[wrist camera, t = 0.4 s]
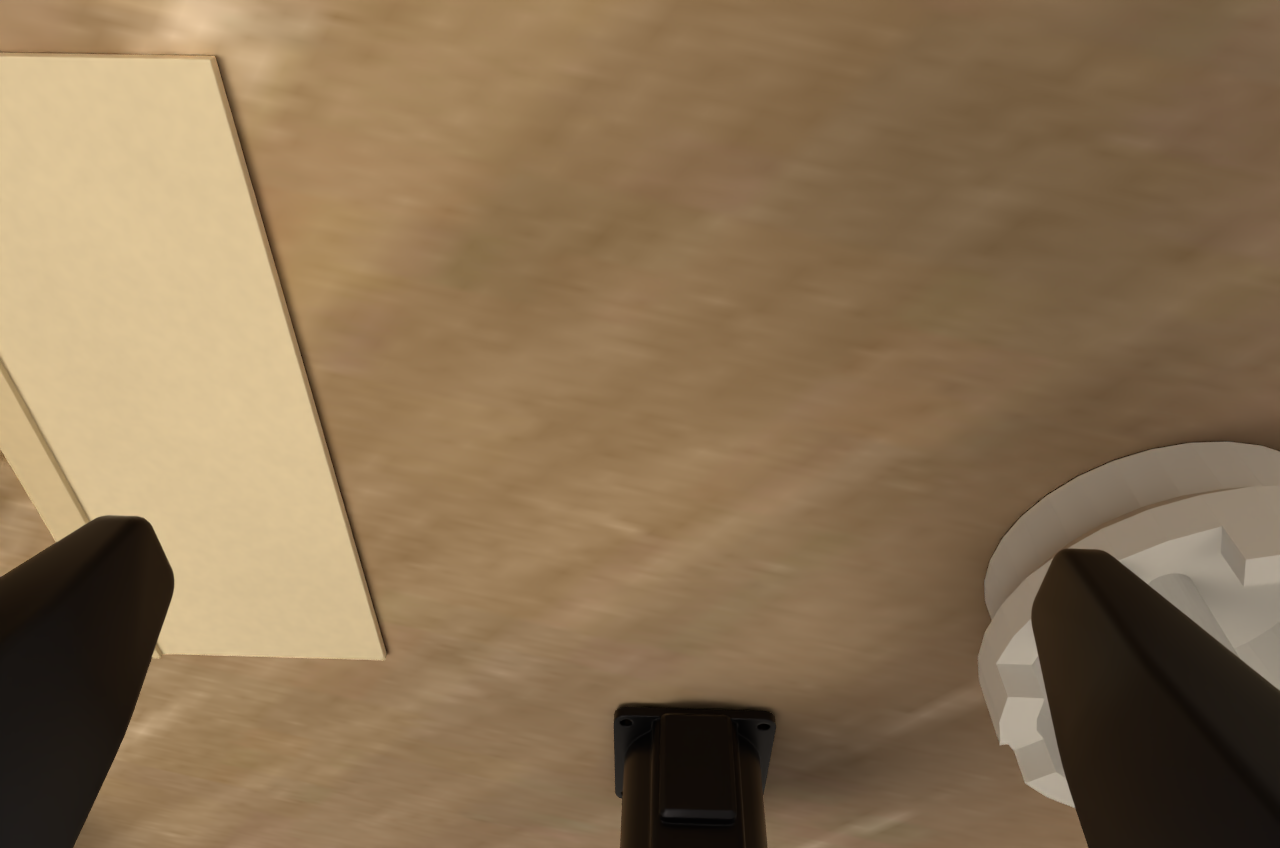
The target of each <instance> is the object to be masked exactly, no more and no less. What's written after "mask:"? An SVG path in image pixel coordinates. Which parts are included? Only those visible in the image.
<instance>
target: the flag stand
mask: <svg viewBox="0 0 1280 848" xmlns="http://www.w3.org/2000/svg"><path fill="white" fill-rule="evenodd" d="M1066 548H1073V549H1098V550H1102V551H1105V552H1107V553H1109V554H1110V555H1112V556H1113V557H1115V558H1116V559H1117V560H1118V561H1120V562H1121V563H1122V564H1123V565H1124V566H1126V567H1127V568H1128V569H1129V570H1131V571H1132V572H1133V573H1134V574H1136V575H1137V576H1138V577H1139V578H1141V579H1142V580H1143V581H1144V582H1146V583H1147V584H1148V585H1149V586H1151V587H1152V588H1153V589H1154V590H1156V591H1157V592H1158V593H1159V594H1160V595H1162V596H1163V597H1164V598H1165V599H1167V600H1168V601H1169V602H1170V603H1172V604H1173V605H1174V606H1175V607H1177V608H1178V609H1179V610H1180V611H1182V612H1183V613H1184V614H1185V615H1187V616H1188V617H1189V618H1190V619H1192V620H1193V621H1194V622H1195V623H1196V624H1198V625H1199V626H1200V627H1201V628H1203V629H1204V630H1205V631H1206V632H1208V633H1209V634H1210V635H1211V636H1213V637H1214V638H1215V639H1216V640H1218V641H1219V642H1220V643H1221V644H1223V645H1224V646H1225V647H1226V648H1228V649H1229V650H1230V651H1231V652H1233V653H1234V654H1235V655H1236V656H1237V657H1239V658H1240V659H1241V660H1242V661H1244V662H1245V663H1246V664H1247V665H1249V666H1250V667H1251V668H1252V669H1254V670H1255V671H1256V672H1257V673H1259V674H1260V675H1261V676H1262V677H1264V678H1265V679H1266V680H1267V681H1269V682H1270V683H1271V684H1272V685H1273V686H1275V687H1276V688H1277V689H1278V690H1280V451H1277V450H1274V449H1271V448H1268V447H1264V446H1260V445H1252V444H1244V443H1236V442H1199V443H1186V444H1180V445H1174V446H1168V447H1162V448H1156V449H1151V450H1147V451H1144V452H1141V453H1137V454H1134V455H1131V456H1128V457H1124V458H1121V459H1118V460H1114V461H1112V462H1109V463H1107V464H1105V465H1103V466H1100V467H1098V468H1096V469H1094V470H1091V471H1089V472H1087V473H1085V474H1082V475H1080V476H1078V477H1076V478H1074V479H1073V480H1071V481H1070V482H1068V483H1066V484H1065V485H1063V486H1061V487H1060V488H1058V489H1056V490H1055V491H1053V492H1051V493H1050V494H1048V495H1047V496H1045V497H1044V498H1043V499H1042V500H1041V501H1039V502H1038V503H1037V504H1036V505H1034V506H1033V507H1032V508H1031V509H1030V510H1028V511H1027V512H1026V513H1025V514H1024V515H1022V516H1021V517H1020V518H1019V520H1018V521H1017V522H1016V523H1015V524H1014V525H1013V527H1012V528H1011V529H1010V530H1009V531H1008V532H1007V533H1006V535H1005V536H1004V537H1003V538H1002V540H1001V542H1000V543H999V545H998V547H997V549H996V550H995V552H994V554H993V556H992V558H991V559H990V562H989V566H988V570H987V573H986V577H985V581H984V590H985V603H986V606H987V609H988V611H989V614H990V617H991V620H992V621H991V623H990V624H989V626H988V628H987V629H986V631H985V634H984V637H983V641H982V644H981V648H980V651H979V655H978V673H979V683H980V686H981V689H982V692H983V695H984V698H985V701H986V704H987V707H988V710H989V713H990V716H991V719H992V722H993V725H994V728H995V732H996V735H997V738H998V741H999V744H1000V745H1004V744H1008V745H1009V746H1010V747H1011V748H1012V749H1013V750H1014V753H1015V755H1016V758H1017V761H1018V764H1019V767H1020V770H1021V773H1022V776H1023V779H1024V782H1025V784H1027V785H1028V786H1030V787H1032V788H1033V789H1035V790H1036V791H1038V792H1040V793H1041V794H1043V795H1044V796H1046V797H1048V798H1050V799H1053V800H1055V801H1058V802H1061V803H1063V804H1066V805H1069V806H1071V807H1074V808H1075V805H1074V802H1073V799H1072V796H1071V793H1070V790H1069V787H1068V783H1067V780H1066V777H1065V773H1064V770H1063V766H1062V762H1061V758H1060V754H1059V750H1058V746H1057V741H1056V736H1055V732H1054V727H1053V722H1052V718H1051V713H1050V708H1049V704H1048V699H1047V694H1046V690H1045V685H1044V680H1043V675H1042V671H1041V666H1040V661H1039V657H1038V652H1037V647H1036V643H1035V638H1034V633H1033V629H1032V622H1031V611H1032V605H1033V602H1034V599H1035V597H1036V594H1037V592H1038V590H1039V588H1040V586H1041V583H1042V581H1043V579H1044V577H1045V575H1046V573H1047V570H1048V568H1049V566H1050V564H1051V562H1052V559H1053V558H1054V556H1055V554H1056V553H1058V552H1059V551H1060V550H1062V549H1066Z"/></svg>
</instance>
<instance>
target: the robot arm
mask: <svg viewBox="0 0 1280 848" xmlns="http://www.w3.org/2000/svg"><path fill="white" fill-rule="evenodd" d="M173 592H174V574H173V570H172V567H171V565H170V563H169V561H168V559H167V557H166V555H165V552H164V550H163V548H162V546H161V544H160V542H159V540H158V537H157V535H156V533H155V531H154V529H153V527H152V525H151V523H150V522H148V521H147V520H146V519H145V518H143V517H139V516H119V515H105V516H100V517H97V518H95V519H93V520H92V521H90V522H88V523H87V524H85V525H83V526H82V527H80V528H79V529H77V530H75V531H74V532H72V533H71V534H69V535H67V536H66V537H64V538H63V539H61V540H59V541H58V542H56V543H55V544H53V545H51V546H50V547H48V548H47V549H45V550H43V551H42V552H40V553H39V554H37V555H35V556H34V557H32V558H31V559H29V560H27V561H26V562H24V563H23V564H21V565H19V566H18V567H16V568H15V569H13V570H11V571H10V572H8V573H7V574H5V575H3V576H2V577H0V848H73V846H74V844H75V842H76V840H77V838H78V836H79V834H80V831H81V829H82V827H83V825H84V823H85V821H86V818H87V816H88V814H89V812H90V810H91V808H92V806H93V803H94V801H95V799H96V797H97V795H98V793H99V790H100V788H101V786H102V784H103V782H104V780H105V778H106V775H107V773H108V771H109V769H110V767H111V765H112V762H113V760H114V758H115V756H116V754H117V751H118V749H119V747H120V744H121V742H122V740H123V738H124V735H125V733H126V730H127V727H128V725H129V722H130V719H131V717H132V714H133V711H134V709H135V706H136V703H137V700H138V697H139V694H140V691H141V688H142V685H143V682H144V679H145V676H146V673H147V670H148V667H149V664H150V661H151V658H152V655H153V653H154V650H155V647H156V644H157V641H158V638H159V635H160V632H161V629H162V626H163V623H164V620H165V617H166V614H167V611H168V608H169V605H170V602H171V600H172V596H173ZM1031 622H1032V629H1033V633H1034V638H1035V643H1036V647H1037V652H1038V657H1039V661H1040V666H1041V671H1042V675H1043V680H1044V685H1045V690H1046V694H1047V699H1048V704H1049V708H1050V713H1051V718H1052V722H1053V727H1054V732H1055V736H1056V741H1057V746H1058V750H1059V754H1060V758H1061V762H1062V766H1063V770H1064V773H1065V777H1066V780H1067V783H1068V787H1069V790H1070V793H1071V796H1072V799H1073V802H1074V805H1075V808H1076V811H1077V814H1078V817H1079V820H1080V823H1081V826H1082V829H1083V832H1084V835H1085V838H1086V841H1087V844H1088V847H1089V848H1280V690H1278V689H1277V688H1276V687H1275V686H1273V685H1272V684H1271V683H1270V682H1269V681H1267V680H1266V679H1265V678H1264V677H1262V676H1261V675H1260V674H1259V673H1257V672H1256V671H1255V670H1254V669H1252V668H1251V667H1250V666H1249V665H1247V664H1246V663H1245V662H1244V661H1242V660H1241V659H1240V658H1239V657H1237V656H1236V655H1235V654H1234V653H1233V652H1231V651H1230V650H1229V649H1228V648H1226V647H1225V646H1224V645H1223V644H1221V643H1220V642H1219V641H1218V640H1216V639H1215V638H1214V637H1213V636H1211V635H1210V634H1209V633H1208V632H1206V631H1205V630H1204V629H1203V628H1201V627H1200V626H1199V625H1198V624H1196V623H1195V622H1194V621H1193V620H1192V619H1190V618H1189V617H1188V616H1187V615H1185V614H1184V613H1183V612H1182V611H1180V610H1179V609H1178V608H1177V607H1175V606H1174V605H1173V604H1172V603H1170V602H1169V601H1168V600H1167V599H1165V598H1164V597H1163V596H1162V595H1160V594H1159V593H1158V592H1157V591H1156V590H1154V589H1153V588H1152V587H1151V586H1149V585H1148V584H1147V583H1146V582H1144V581H1143V580H1142V579H1141V578H1139V577H1138V576H1137V575H1136V574H1134V573H1133V572H1132V571H1131V570H1129V569H1128V568H1127V567H1126V566H1124V565H1123V564H1122V563H1121V562H1120V561H1118V560H1117V559H1116V558H1115V557H1113V556H1112V555H1110V554H1109V553H1107V552H1105V551H1102V550H1098V549H1073V548H1066V549H1062V550H1060V551H1059V552H1058V553H1056V554H1055V556H1054V558H1053V559H1052V562H1051V564H1050V566H1049V568H1048V570H1047V573H1046V575H1045V577H1044V579H1043V581H1042V583H1041V586H1040V588H1039V590H1038V592H1037V594H1036V597H1035V599H1034V602H1033V605H1032V611H1031ZM775 730H776V723H775V716H774V715H773V714H772V713H770V712H767V711H745V710H711V709H677V708H643V707H622V708H619V709H617V710H616V711H615V714H614V749H615V793H616V795H617V796H618V797H619V798H622V817H621V839H620V848H767V837H766V825H765V814H764V802H763V794H764V789H765V784H766V778H767V773H768V768H769V762H770V757H771V752H772V746H773V741H774V735H775Z"/></svg>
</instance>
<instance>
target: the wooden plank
mask: <svg viewBox="0 0 1280 848" xmlns="http://www.w3.org/2000/svg"><path fill="white" fill-rule="evenodd" d="M0 449H1V451H2V453H3V454H4V456H5V458H6V459H7V461H8V463H9V464H10V466H11V468H12V469H13V471H14V473H15V474H16V476H17V478H18V479H19V481H20V483H21V484H22V486H23V488H24V489H25V491H26V493H27V494H28V496H29V498H30V499H31V501H32V503H33V504H34V506H35V508H36V509H37V511H38V513H39V514H40V516H41V518H42V520H43V521H44V523H45V525H46V526H47V528H48V530H49V531H50V533H51V535H52V536H53V538H54V540H55V541H56V542H58V541H59V540H61V539H63V538H64V537H66V536H67V535H69V534H71V533H72V532H74V531H75V530H77V529H79V528H80V527H82V526H83V525H85V524H87V523H88V522H90V521H92V520H93V519H95V518H97V517H100V516H105V515H119V516H139V517H143V518H145V519H146V520H147V521H148V522H150V523H151V525H152V527H153V529H154V531H155V533H156V535H157V537H158V540H159V542H160V544H161V546H162V548H163V550H164V552H165V555H166V557H167V559H168V561H169V563H170V565H171V567H172V570H173V574H174V592H173V596H172V600H171V602H170V605H169V608H168V611H167V614H166V617H165V620H164V623H163V626H162V629H161V632H160V635H159V638H158V641H157V644H156V647H155V650H154V653H153V655H152V658H161V657H162V655H163V654H182V655H217V656H252V657H287V658H322V659H357V660H385V658H386V655H387V653H386V650H385V646H384V643H383V639H382V636H381V632H380V629H379V625H378V622H377V618H376V615H375V611H374V608H373V604H372V601H371V598H370V594H369V591H368V587H367V584H366V580H365V577H364V573H363V570H362V566H361V563H360V559H359V556H358V552H357V549H356V545H355V542H354V538H353V535H352V531H351V528H350V524H349V521H348V517H347V514H346V510H345V507H344V503H343V500H342V497H341V493H340V490H339V486H338V483H337V479H336V476H335V472H334V469H333V465H332V462H331V458H330V455H329V451H328V448H327V444H326V441H325V437H324V434H323V430H322V427H321V423H320V420H319V416H318V413H317V409H316V406H315V402H314V399H313V396H312V392H311V389H310V385H309V382H308V378H307V375H306V371H305V368H304V364H303V361H302V357H301V354H300V350H299V347H298V343H297V340H296V336H295V333H294V329H293V326H292V322H291V319H290V315H289V312H288V308H287V305H286V301H285V298H284V295H283V291H282V288H281V284H280V281H279V277H278V274H277V270H276V267H275V263H274V260H273V256H272V253H271V249H270V246H269V242H268V239H267V235H266V232H265V228H264V225H263V221H262V218H261V214H260V211H259V207H258V204H257V200H256V197H255V194H254V190H253V187H252V183H251V180H250V176H249V173H248V169H247V166H246V162H245V159H244V155H243V152H242V148H241V145H240V141H239V138H238V134H237V131H236V127H235V124H234V120H233V117H232V113H231V110H230V106H229V103H228V99H227V96H226V93H225V89H224V86H223V82H222V79H221V75H220V72H219V68H218V65H217V61H216V58H215V56H188V55H123V54H57V53H0Z"/></svg>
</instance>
